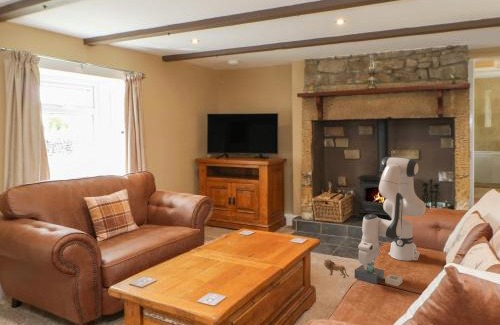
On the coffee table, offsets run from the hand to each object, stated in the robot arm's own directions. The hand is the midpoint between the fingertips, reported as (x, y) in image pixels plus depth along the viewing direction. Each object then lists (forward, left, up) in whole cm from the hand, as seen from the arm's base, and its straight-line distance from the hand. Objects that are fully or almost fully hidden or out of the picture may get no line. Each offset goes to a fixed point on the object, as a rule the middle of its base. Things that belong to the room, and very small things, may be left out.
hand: (369, 267), depth 222 cm
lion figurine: (+8, -17, -7) cm, 20 cm away
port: (0, 0, -7) cm, 7 cm away
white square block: (-3, +13, -7) cm, 15 cm away
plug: (0, 0, -7) cm, 7 cm away
